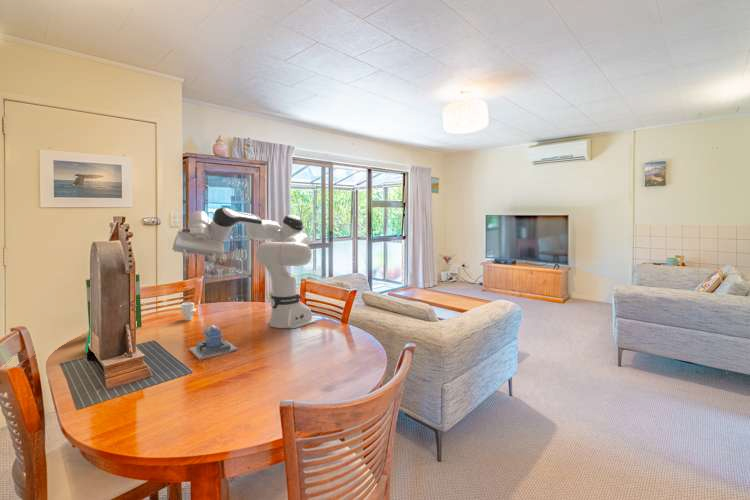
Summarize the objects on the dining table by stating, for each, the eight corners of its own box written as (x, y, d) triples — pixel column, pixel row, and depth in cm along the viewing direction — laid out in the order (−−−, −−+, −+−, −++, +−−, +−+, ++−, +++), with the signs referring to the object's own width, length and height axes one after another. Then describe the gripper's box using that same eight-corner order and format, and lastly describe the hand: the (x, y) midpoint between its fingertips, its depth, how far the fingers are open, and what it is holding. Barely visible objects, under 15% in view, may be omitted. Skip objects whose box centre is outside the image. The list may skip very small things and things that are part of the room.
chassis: (226, 342, 151) (226, 336, 151) (237, 350, 142) (237, 344, 142) (189, 350, 142) (189, 343, 141) (198, 359, 133) (198, 353, 132)
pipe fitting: (188, 322, 177) (188, 305, 176) (177, 320, 179) (177, 304, 179) (199, 318, 183) (198, 302, 182) (188, 316, 185) (187, 301, 184)
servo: (215, 344, 146) (214, 321, 145) (222, 350, 140) (222, 327, 139) (204, 346, 144) (203, 323, 143) (211, 352, 137) (210, 329, 136)
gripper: (221, 246, 172) (223, 267, 163) (172, 239, 161) (170, 261, 152) (225, 236, 169) (227, 257, 160) (175, 228, 158) (174, 250, 149)
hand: (199, 259), depth 156 cm, fingers open, 8 cm apart
